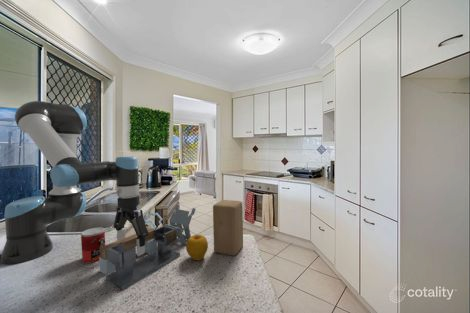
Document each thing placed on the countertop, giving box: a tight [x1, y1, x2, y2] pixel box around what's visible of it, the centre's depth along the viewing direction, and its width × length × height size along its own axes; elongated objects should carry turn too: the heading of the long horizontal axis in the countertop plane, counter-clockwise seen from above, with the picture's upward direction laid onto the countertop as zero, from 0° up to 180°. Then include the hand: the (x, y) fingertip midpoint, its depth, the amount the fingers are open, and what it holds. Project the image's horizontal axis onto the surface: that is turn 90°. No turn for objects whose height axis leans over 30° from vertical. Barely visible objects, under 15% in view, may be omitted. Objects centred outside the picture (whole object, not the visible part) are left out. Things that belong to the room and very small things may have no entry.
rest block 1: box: [98, 257, 116, 276], centre depth 72 cm, size 5×4×5 cm
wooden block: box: [212, 199, 244, 257], centre depth 85 cm, size 10×10×20 cm
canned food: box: [80, 227, 106, 264], centre depth 80 cm, size 8×8×11 cm
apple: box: [185, 234, 209, 261], centre depth 78 cm, size 8×8×9 cm
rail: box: [100, 228, 155, 260], centre depth 78 cm, size 4×20×4 cm, turn 148°
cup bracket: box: [105, 225, 181, 291], centre depth 73 cm, size 10×23×11 cm, turn 148°
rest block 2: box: [145, 239, 158, 255], centre depth 85 cm, size 5×4×5 cm
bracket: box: [163, 204, 196, 246], centre depth 94 cm, size 13×10×15 cm
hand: (130, 249), depth 78 cm, fingers open, 13 cm apart
